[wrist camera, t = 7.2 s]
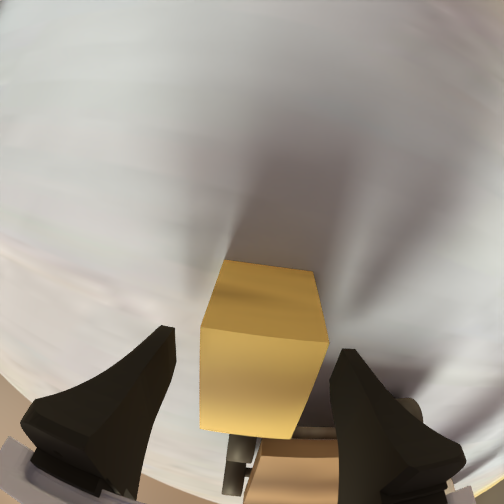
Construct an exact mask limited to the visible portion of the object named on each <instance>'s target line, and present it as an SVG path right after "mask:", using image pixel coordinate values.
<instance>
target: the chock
mask: <svg viewBox="0 0 504 504" xmlns="http://www.w3.org/2000/svg"><path fill="white" fill-rule="evenodd" d="M328 346H329V338H328V333H327V329H326V325H325V320H324V316H323V311H322V307H321V303H320V299H319V295H318V291H317V286H316V282H315V278H314V274H313V272H312V271H305V270H297V269H290V268H282V267H275V266H267V265H260V264H253V263H245V262H238V261H231V260H224V262H223V264H222V267H221V270H220V273H219V275H218V278H217V281H216V284H215V287H214V290H213V292H212V295H211V298H210V301H209V304H208V307H207V309H206V312H205V315H204V318H203V321H202V324H201V327H200V429H204V430H210V431H216V432H222V433H229V434H236V435H244V436H253V437H263V438H275V439H291V437H292V434H293V432H294V430H295V428H296V426H297V423H298V421H299V419H300V417H301V414H302V412H303V410H304V407H305V405H306V403H307V400H308V398H309V395H310V393H311V390H312V388H313V385H314V383H315V380H316V378H317V375H318V373H319V370H320V368H321V365H322V362H323V360H324V357H325V354H326V351H327V349H328Z"/></svg>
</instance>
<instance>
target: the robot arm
mask: <svg viewBox="0 0 504 504" xmlns="http://www.w3.org/2000/svg"><path fill="white" fill-rule="evenodd" d="M175 365H176V344H175V328H173V327H168V326H163V325H161V326H159V327H158V328H157V329H156V330H155V331H154V332H153V333H152V334H151V335H150V336H149V337H147V338H146V339H145V340H144V341H143V342H142V343H141V344H140V345H138V346H137V347H136V348H135V349H134V350H133V351H131V352H130V353H129V354H128V355H126V356H125V357H124V358H123V359H121V360H120V361H119V362H117V363H116V364H115V365H113V366H112V367H110V368H109V369H107V370H106V371H104V372H102V373H101V374H99V375H97V376H96V377H94V378H92V379H90V380H88V381H86V382H84V383H82V384H80V385H78V386H76V387H73V388H71V389H68V390H66V391H63V392H60V393H57V394H54V395H50V396H46V397H43V398H39V399H35V400H34V401H33V403H32V404H31V405H30V407H29V409H28V410H27V412H26V413H25V415H24V416H23V418H22V420H21V422H20V424H21V427H22V429H23V431H24V432H25V433H26V435H27V436H28V437H29V439H30V440H31V441H32V442H33V443H34V445H35V446H36V447H37V448H36V450H35V452H33V451H32V450H30V449H29V448H28V447H26V446H24V445H23V444H21V443H20V442H18V441H17V440H15V439H13V438H12V437H10V436H8V438H7V440H6V441H5V443H4V445H3V446H2V448H1V450H0V489H2V490H3V491H4V492H6V493H7V494H8V495H10V496H11V497H12V498H14V499H15V500H17V501H18V502H20V503H21V504H145V503H141V502H138V501H136V499H137V493H138V487H139V481H140V475H141V471H142V466H143V461H144V457H145V453H146V449H147V445H148V441H149V437H150V433H151V430H152V426H153V424H154V421H155V418H156V416H157V413H158V411H159V409H160V406H161V404H162V402H163V399H164V397H165V394H166V392H167V390H168V387H169V385H170V382H171V380H172V376H173V373H174V369H175ZM329 383H330V401H331V407H332V412H333V418H334V424H335V429H336V435H337V441H338V454H339V487H338V502H337V504H476V502H475V498H474V495H473V491H472V488H471V486H467V487H464V488H462V489H459V490H456V491H454V492H451V493H449V494H447V495H445V491H444V490H446V489H447V488H448V485H447V482H446V481H448V480H449V479H450V478H451V477H453V476H454V475H455V474H456V473H458V472H459V471H460V470H461V469H462V468H463V467H464V466H465V464H466V458H465V455H464V453H463V450H462V447H461V445H460V444H458V443H456V442H454V441H452V440H450V439H448V438H446V437H444V436H442V435H440V434H439V433H437V432H435V431H434V430H432V429H431V428H429V427H428V426H426V425H425V424H424V423H422V422H421V421H420V420H418V419H417V418H416V417H415V416H413V415H412V414H411V413H410V412H409V411H408V410H406V409H405V408H404V407H403V406H402V405H401V404H400V403H399V402H398V401H397V400H396V399H395V398H394V397H393V396H392V395H391V394H390V392H389V391H388V390H387V389H386V388H385V387H384V386H383V384H382V383H381V382H380V381H379V380H378V378H377V377H376V376H375V375H374V373H373V372H372V371H371V369H370V368H369V367H368V365H367V364H366V363H365V361H364V360H363V359H362V357H361V356H360V355H359V353H358V352H357V351H356V350H355V349H343V348H342V350H341V353H340V355H339V358H338V360H337V363H336V365H335V368H334V370H333V372H332V375H331V377H330V380H329Z"/></svg>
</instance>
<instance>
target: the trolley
mask: <svg viewBox="0 0 504 504" xmlns="http://www.w3.org/2000/svg"><path fill="white" fill-rule="evenodd" d="M396 400H397V401H398V402H399V403H400V404H401V405H402V406H403V407H404V408H405V409H406V410H408V411H409V412H410V413H411V414H412V415H413V416H415V417H416V418H417V419H418V420H420V421H421V422H422V423H423V416H422V412H421V409H420V407H419V405H418V403H417V402H416V401H415V400H414V399H412V398H397V399H396ZM291 438H292V439H275V438H263V437H262V440H261V443H260V446H259V450H258V453H257V456H256V459H255V462H254V465H253V468H246V463H251V462H252V459H253V456H254V451H255V445H256V439H257V437H253V436H244V435H236V434H229V442H228V449H227V456H226V467H225V474H224V481H223V488H222V494H223V495H231V496H240V497H241V494H242V489H243V484H244V477H249V480H248V483H247V486H246V489H245V492H244V499H243V504H337V502H338V487H339V454H338V441H337V440H306V439H337V435H336V429H335V427H301V426H296V428H295V430H294V432H293V434H292V437H291Z"/></svg>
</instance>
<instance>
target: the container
mask: <svg viewBox="0 0 504 504" xmlns="http://www.w3.org/2000/svg"><path fill="white" fill-rule="evenodd" d="M446 482H447V485H448V488H447V489H446V490H444V491H445V495H447V494H449V493H451V492H454V491H455V488H454V485H453V481H452V479H451V478H450V479H449V480H448V481H446Z"/></svg>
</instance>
